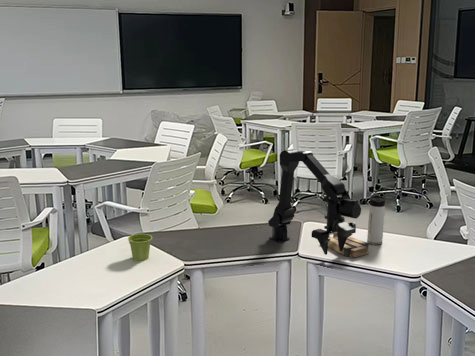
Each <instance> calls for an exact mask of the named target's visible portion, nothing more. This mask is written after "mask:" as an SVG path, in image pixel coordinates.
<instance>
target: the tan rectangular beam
mask: <svg viewBox="0 0 475 356" xmlns="http://www.w3.org/2000/svg"><path fill="white" fill-rule="evenodd" d="M332 238H334V239H336V240H338V237H337V233H336V234H332ZM345 244H346V245H348V246H350V247H352V249H351V252H350V257H351V258H354V259H355V258H358V257H361V256H362V257H363V256H364V255H368V254H369V246H370V244H369V243H368V242H367V241H364V240H361V239H358V238H356V237H355V238H354V237H352V236H349V237H348V238H347V240H346V242H345Z"/></svg>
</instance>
